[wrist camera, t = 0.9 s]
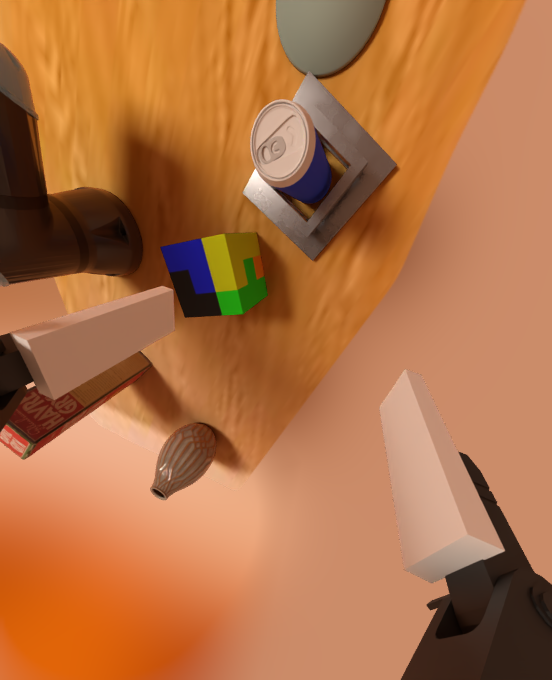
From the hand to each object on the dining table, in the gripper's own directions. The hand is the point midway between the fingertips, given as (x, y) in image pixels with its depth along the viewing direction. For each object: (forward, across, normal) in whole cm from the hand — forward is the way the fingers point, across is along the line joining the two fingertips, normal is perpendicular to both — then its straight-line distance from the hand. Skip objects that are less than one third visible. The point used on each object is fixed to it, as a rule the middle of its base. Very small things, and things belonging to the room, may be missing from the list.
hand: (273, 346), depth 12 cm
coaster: (+25, -8, +25) cm, 36 cm away
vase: (+25, -18, -52) cm, 61 cm away
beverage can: (+25, -5, +10) cm, 28 cm away
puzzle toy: (+25, -14, -4) cm, 29 cm away
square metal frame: (+25, -5, +10) cm, 28 cm away
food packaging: (+26, -42, -37) cm, 62 cm away
